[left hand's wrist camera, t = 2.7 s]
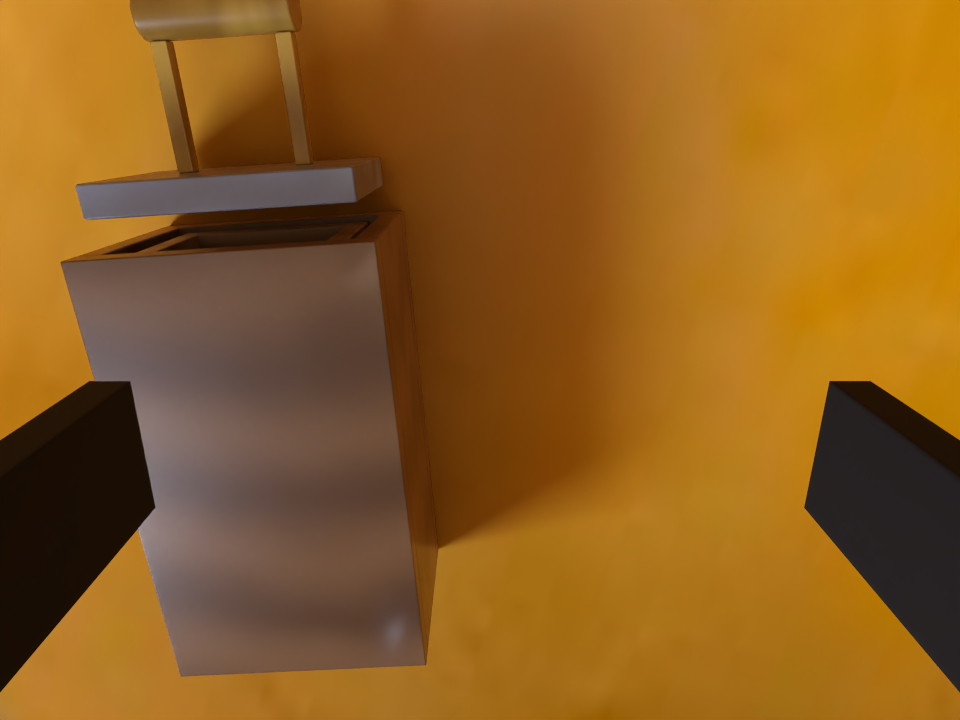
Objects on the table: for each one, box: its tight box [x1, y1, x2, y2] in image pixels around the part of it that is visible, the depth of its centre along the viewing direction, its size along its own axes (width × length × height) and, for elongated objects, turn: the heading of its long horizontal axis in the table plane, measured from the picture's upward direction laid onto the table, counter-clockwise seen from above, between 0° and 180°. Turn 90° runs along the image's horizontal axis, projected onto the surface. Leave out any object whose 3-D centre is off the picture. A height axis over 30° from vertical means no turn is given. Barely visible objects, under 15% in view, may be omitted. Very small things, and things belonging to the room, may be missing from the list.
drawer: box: [76, 0, 383, 253], centre depth 26 cm, size 23×10×6 cm, turn 4°
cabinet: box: [61, 211, 438, 676], centre depth 29 cm, size 18×11×8 cm, turn 4°
